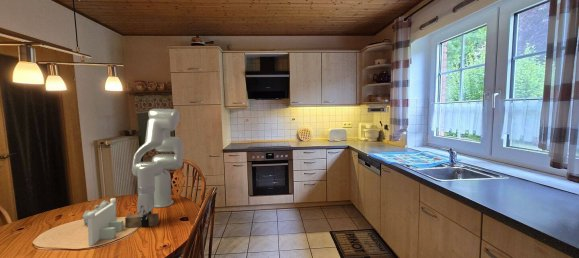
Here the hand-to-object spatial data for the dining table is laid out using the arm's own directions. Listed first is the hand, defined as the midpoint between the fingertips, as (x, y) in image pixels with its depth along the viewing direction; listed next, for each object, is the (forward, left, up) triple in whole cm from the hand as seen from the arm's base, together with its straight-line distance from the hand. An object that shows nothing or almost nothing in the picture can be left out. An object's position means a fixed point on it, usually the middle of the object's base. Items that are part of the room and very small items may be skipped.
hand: (146, 224), depth 128 cm
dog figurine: (-7, -26, -1) cm, 27 cm away
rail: (0, -2, 0) cm, 2 cm away
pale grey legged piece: (+8, -13, 0) cm, 15 cm away
